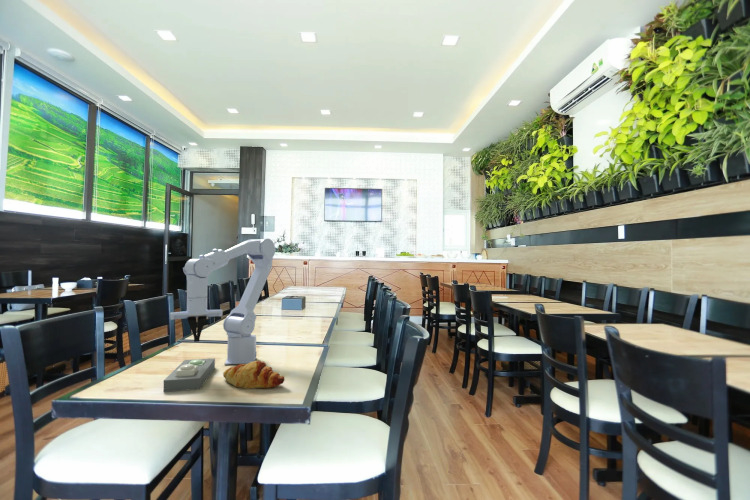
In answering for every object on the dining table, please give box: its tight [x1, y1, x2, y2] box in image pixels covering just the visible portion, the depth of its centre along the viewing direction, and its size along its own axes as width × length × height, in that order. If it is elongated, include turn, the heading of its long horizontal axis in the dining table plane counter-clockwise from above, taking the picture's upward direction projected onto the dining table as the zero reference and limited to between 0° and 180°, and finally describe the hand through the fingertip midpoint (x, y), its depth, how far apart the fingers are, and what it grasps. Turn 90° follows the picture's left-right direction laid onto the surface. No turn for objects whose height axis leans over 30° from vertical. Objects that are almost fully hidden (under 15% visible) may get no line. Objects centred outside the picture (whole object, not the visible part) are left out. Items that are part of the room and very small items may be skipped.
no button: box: [176, 364, 198, 377], centre depth 103 cm, size 4×4×4 cm
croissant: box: [222, 360, 285, 390], centre depth 104 cm, size 21×10×8 cm, turn 70°
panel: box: [163, 357, 216, 393], centre depth 108 cm, size 9×20×3 cm, turn 13°
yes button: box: [188, 359, 205, 366], centre depth 113 cm, size 4×4×4 cm
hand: (196, 341), depth 113 cm, fingers closed
